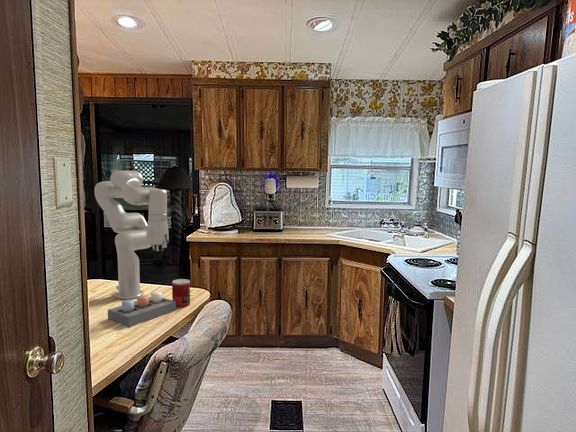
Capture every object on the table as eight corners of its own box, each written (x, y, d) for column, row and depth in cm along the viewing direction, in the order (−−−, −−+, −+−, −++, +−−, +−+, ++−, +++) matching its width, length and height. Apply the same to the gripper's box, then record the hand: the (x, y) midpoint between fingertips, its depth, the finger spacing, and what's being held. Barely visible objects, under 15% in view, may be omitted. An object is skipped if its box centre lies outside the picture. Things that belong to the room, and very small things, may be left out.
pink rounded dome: (134, 307, 160) (134, 297, 160) (144, 304, 164) (144, 294, 163) (141, 310, 157) (141, 299, 157) (151, 307, 161) (150, 296, 161)
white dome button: (149, 303, 166) (148, 293, 165) (157, 300, 170) (157, 290, 169) (155, 305, 163) (155, 295, 163) (164, 302, 167) (164, 292, 167)
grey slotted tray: (107, 319, 155) (107, 309, 155) (155, 304, 174) (155, 295, 174) (128, 327, 148) (128, 317, 147) (176, 310, 167) (175, 301, 166)
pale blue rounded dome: (119, 312, 154) (119, 301, 154) (129, 309, 158) (129, 299, 158) (126, 315, 152) (126, 304, 151) (136, 311, 155) (136, 301, 155)
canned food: (185, 308, 170) (185, 284, 169) (169, 306, 171) (168, 282, 170) (193, 302, 177) (193, 279, 176) (177, 301, 179) (177, 278, 178)
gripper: (139, 216, 166) (140, 258, 168) (161, 220, 157) (161, 263, 160) (154, 215, 172) (154, 255, 174) (176, 218, 164) (176, 260, 166)
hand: (158, 259), depth 167 cm, fingers closed
